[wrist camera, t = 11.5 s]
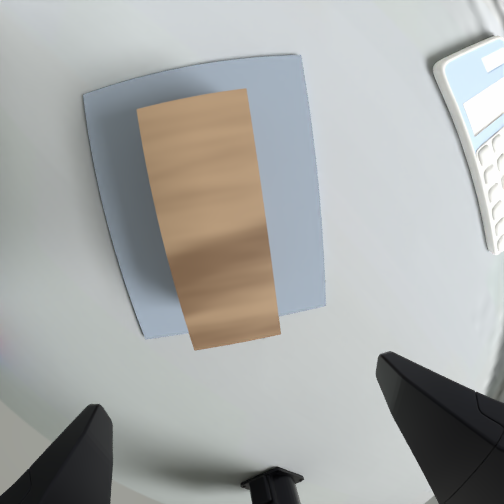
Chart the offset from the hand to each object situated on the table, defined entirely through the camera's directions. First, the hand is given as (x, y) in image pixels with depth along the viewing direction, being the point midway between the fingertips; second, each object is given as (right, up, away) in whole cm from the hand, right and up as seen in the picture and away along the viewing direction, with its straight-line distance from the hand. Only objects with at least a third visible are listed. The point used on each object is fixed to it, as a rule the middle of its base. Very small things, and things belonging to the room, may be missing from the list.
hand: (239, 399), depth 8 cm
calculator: (+25, +15, +13) cm, 32 cm away
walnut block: (-1, 0, +11) cm, 11 cm away
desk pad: (-2, +7, +11) cm, 13 cm away
